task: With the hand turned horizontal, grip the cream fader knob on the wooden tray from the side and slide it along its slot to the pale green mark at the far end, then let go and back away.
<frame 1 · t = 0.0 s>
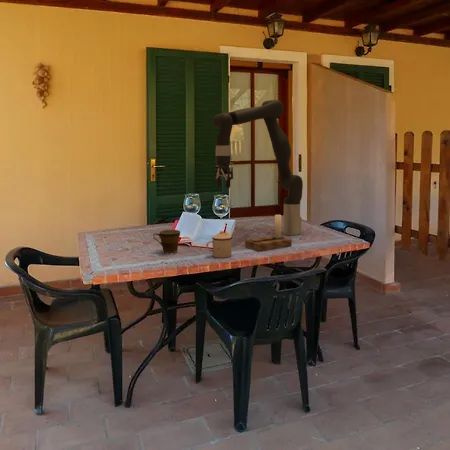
hand: (223, 187, 234), 29 cm above the table, tool pointing down, fingers open, 8 cm apart
teacup with lid: (219, 256, 215), on the table
wooden tray: (268, 246, 232), on the table
ceramic cup: (167, 252, 223), on the table
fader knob: (278, 228, 233), point 8 cm above the table, slide at 0.0 cm
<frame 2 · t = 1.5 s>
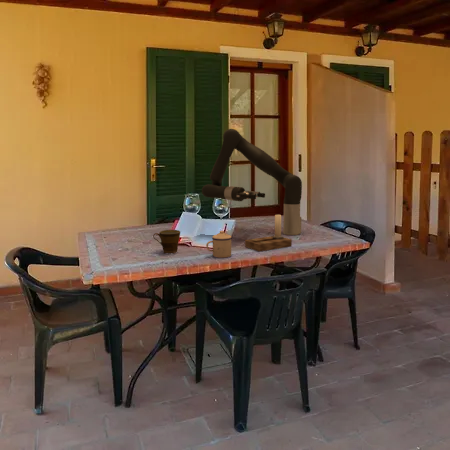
hand: (260, 196, 237), 24 cm above the table, tool horizontal, fingers open, 8 cm apart
nothing on the table moved.
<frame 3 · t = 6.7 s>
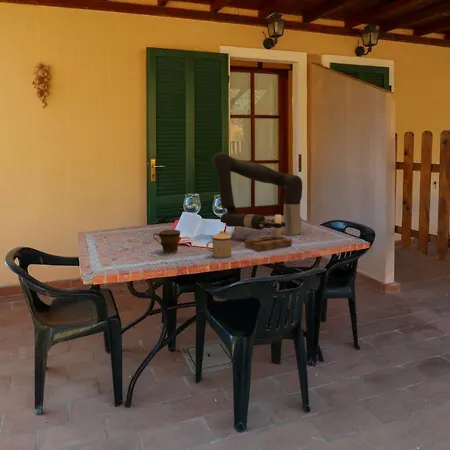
hand: (282, 225, 231), 10 cm above the table, tool horizontal, fingers closed on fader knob, 3 cm apart
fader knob: (277, 228, 233), point 8 cm above the table, slide at 0.0 cm, touching gripper
everything else where it was.
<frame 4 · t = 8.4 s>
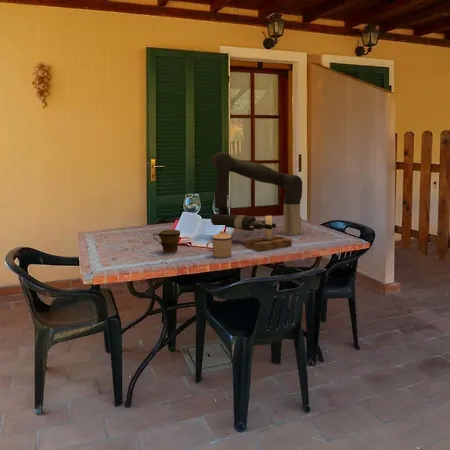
hand: (273, 226, 228), 11 cm above the table, tool horizontal, fingers closed on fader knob, 3 cm apart
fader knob: (268, 230, 230), point 8 cm above the table, slide at 5.9 cm, touching gripper
everything else where it was.
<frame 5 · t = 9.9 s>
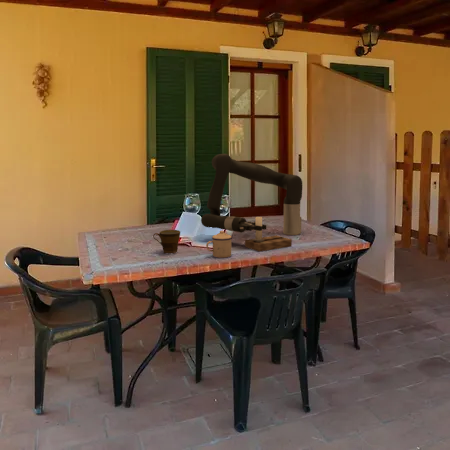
hand: (263, 227, 225), 11 cm above the table, tool horizontal, fingers closed on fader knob, 3 cm apart
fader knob: (258, 231, 227), point 8 cm above the table, slide at 11.9 cm, touching gripper
everything else where it was.
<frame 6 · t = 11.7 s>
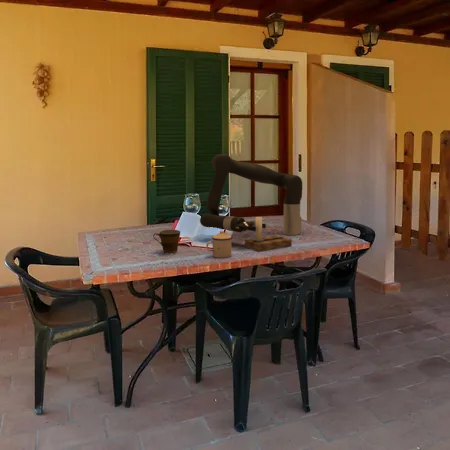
hand: (260, 227, 226), 11 cm above the table, tool horizontal, fingers open, 8 cm apart
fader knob: (258, 231, 227), point 8 cm above the table, slide at 12.0 cm
everything else where it was.
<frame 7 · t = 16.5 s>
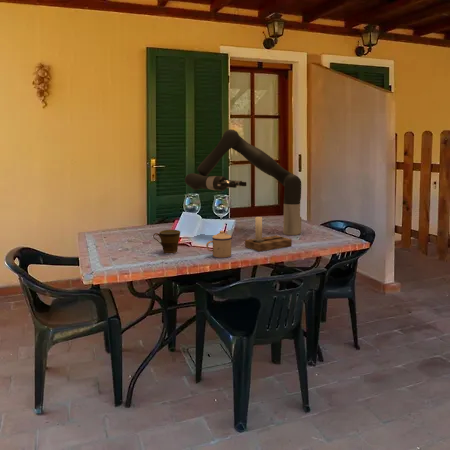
hand: (241, 184, 237), 30 cm above the table, tool horizontal, fingers open, 8 cm apart
nothing on the table moved.
at the end: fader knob slide at 12.0 cm; the gripper is holding nothing; teacup with lid moved 0.2 cm from its start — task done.
